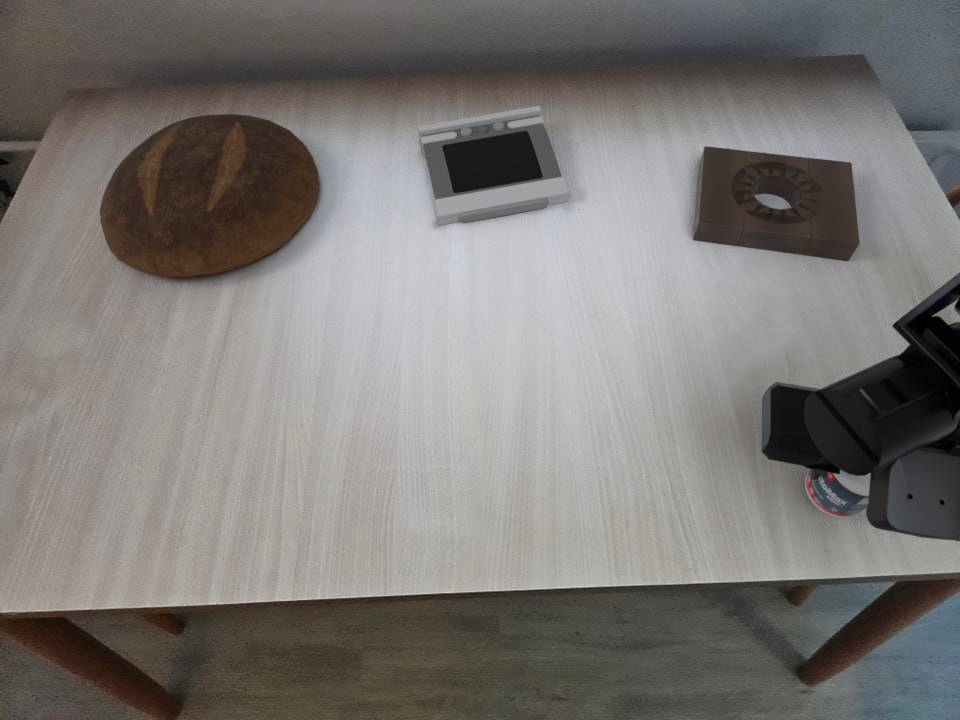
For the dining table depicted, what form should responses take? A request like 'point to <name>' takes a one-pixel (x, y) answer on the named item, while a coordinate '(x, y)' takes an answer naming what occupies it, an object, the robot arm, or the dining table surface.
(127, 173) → the bread
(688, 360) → the dining table surface
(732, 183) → the socket pad
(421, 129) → the grey boxy piece
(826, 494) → the pill bottle
